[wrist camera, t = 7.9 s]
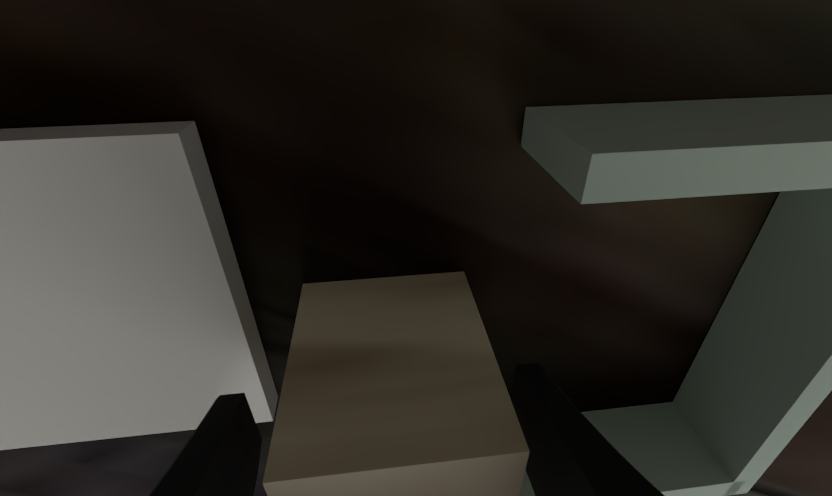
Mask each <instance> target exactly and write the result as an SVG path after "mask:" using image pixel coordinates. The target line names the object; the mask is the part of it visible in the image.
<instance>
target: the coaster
mask: <svg viewBox="0 0 832 496" xmlns="http://www.w3.org/2000/svg"><path fill="white" fill-rule="evenodd" d="M236 393H245V396H246V398H247V401H248V404H249V406H250V409H251V412H252V415H253V417H254V420H255V423H260V422H269V421H273V419H274V414H275V409H276V405H277V400H278V395H277V391H276V388H275V385H274V382H273V378H272V375H271V372H270V368H269V365H268V362H267V358H266V355H265V352H264V349H263V345H262V342H261V339H260V335H259V332H258V329H257V325H256V322H255V319H254V316H253V312H252V309H251V306H250V302H249V299H248V296H247V292H246V289H245V286H244V282H243V279H242V276H241V273H240V269H239V266H238V263H237V259H236V256H235V253H234V249H233V246H232V243H231V240H230V236H229V233H228V230H227V226H226V223H225V220H224V216H223V213H222V210H221V207H220V203H219V200H218V197H217V193H216V190H215V187H214V183H213V180H212V177H211V173H210V170H209V167H208V164H207V160H206V157H205V154H204V150H203V147H202V144H201V140H200V137H199V134H198V131H197V127H196V124H195V121H179V122H155V123H131V124H107V125H83V126H58V127H34V128H10V129H0V450H6V449H16V448H25V447H34V446H44V445H53V444H63V443H72V442H81V441H91V440H100V439H109V438H119V437H128V436H138V435H147V434H156V433H166V432H175V431H185V430H194V429H197V427H198V426H199V424H200V423H201V421H202V420H203V418H204V417H205V415H206V414H207V412H208V411H209V409H210V408H211V406H212V405H213V403H214V402H215V400H216V399H217V398H218V397H219V396H220V395H226V394H236Z"/></svg>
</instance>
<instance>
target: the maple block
mask: <svg viewBox="0 0 832 496" xmlns="http://www.w3.org/2000/svg"><path fill="white" fill-rule="evenodd" d="M529 452H530V451H529V448H528V445H527V443H526V440H525V437H524V434H523V432H522V429H521V426H520V423H519V421H518V418H517V415H516V413H515V410H514V407H513V404H512V402H511V399H510V396H509V393H508V391H507V388H506V385H505V382H504V380H503V377H502V374H501V372H500V369H499V366H498V363H497V361H496V358H495V355H494V352H493V350H492V347H491V344H490V341H489V339H488V336H487V333H486V330H485V328H484V325H483V322H482V320H481V317H480V314H479V311H478V309H477V306H476V303H475V300H474V298H473V295H472V292H471V289H470V287H469V284H468V281H467V279H466V276H465V273H464V271H462V272H450V273H437V274H424V275H411V276H398V277H385V278H372V279H359V280H346V281H333V282H320V283H308V284H303V286H302V291H301V296H300V301H299V306H298V311H297V316H296V321H295V326H294V331H293V335H292V340H291V345H290V350H289V355H288V360H287V365H286V370H285V375H284V380H283V385H282V390H281V395H280V400H279V405H278V410H277V415H276V420H275V425H274V429H273V434H272V439H271V444H270V449H269V454H268V459H267V464H266V469H265V474H264V479H263V485H264V488H265V490H266V493H267V495H268V496H519V494H520V490H521V486H522V481H523V477H524V473H525V469H526V465H527V461H528V457H529Z"/></svg>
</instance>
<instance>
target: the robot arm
mask: <svg viewBox="0 0 832 496" xmlns="http://www.w3.org/2000/svg"><path fill="white" fill-rule="evenodd" d="M511 402H512V404H513V407H514V410H515V413H516V415H517V418H518V421H519V423H520V426H521V429H522V432H523V434H524V437H525V440H526V443H527V445H528V448H529V451H530V452H529V457H528V461H527V465H526V469H525V470H526V473H527V475H528V478H529V480H530V483H531V486H532V488H533V491H534V493H535V496H665V495H663V494H662V493H661V492H660V491H659V490H658V489H657V488H656V487H655V486H653V485H652V484H651V483H650V482H649V481H648V480H647V479H646V478H645V477H644V476H643V475H642V474H641V473H640V472H639V471H637V470H636V469H635V468H634V467H633V466H632V465H631V464H630V463H629V462H628V461H627V460H626V459H625V458H624V457H623V456H622V455H621V454H620V453H619V452H618V451H617V450H616V449H615V448H614V447H613V446H612V445H611V444H610V443H609V442H608V441H607V440H606V439H605V437H604V436H603V435H602V434H601V433H600V432H599V431H598V430H597V429H596V428H595V427H594V426H593V425H592V424H591V422H590V421H589V420H588V419H587V418H586V417H585V416H584V415H583V414H582V413H581V412H580V410H579V409H578V408H577V407H576V406H575V405H574V404H573V402H572V401H571V400H570V399H569V398H568V397H567V396H566V394H565V393H564V392H563V391H562V390H561V389H560V387H559V386H558V385H557V384H556V383H555V382H554V380H553V379H552V378H551V377H550V376H549V374H548V373H547V372H546V371H545V370H544V368H543V367H542V366H541V365H540V364H539V363H534V364H524V365H516V371H515V376H514V382H513V388H512V393H511ZM261 442H262V439H261V436H260V433H259V431H258V428H257V425H256V423H255V420H254V417H253V415H252V412H251V409H250V406H249V404H248V401H247V398H246V396H245V393H236V394H226V395H220V396H219V397H218V398H217V399H216V400H215V402H214V403H213V405H212V406H211V408H210V409H209V411H208V412H207V414H206V415H205V417H204V418H203V420H202V421H201V423H200V424H199V426H198V427H197V429H196V430H195V431H194V433H193V434H192V436H191V437H190V439H189V440H188V442H187V443H186V445H185V446H184V447H183V449H182V450H181V452H180V453H179V455H178V456H177V457H176V459H175V460H174V462H173V463H172V464H171V466H170V467H169V468H168V470H167V471H166V473H165V474H164V475H163V477H162V478H161V480H160V481H159V482H158V484H157V485H156V486H155V488H154V489H153V490H152V492H151V493H150V494H149V496H253V493H254V489H255V485H256V480H257V473H258V466H259V458H260V450H261Z"/></svg>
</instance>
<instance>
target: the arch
mask: <svg viewBox="0 0 832 496" xmlns="http://www.w3.org/2000/svg"><path fill="white" fill-rule="evenodd" d="M521 147H522V148H523V149H524V150H525V151H526V152H527V153H528V154H529V155H530V156H532V157H533V158H534V159H535V160H536V161H537V162H538V163H539V164H540V165H541V166H542V167H543V168H544V169H545V170H546V171H547V172H548V173H549V174H550V175H551V176H552V177H553V178H554V179H555V180H556V181H557V182H558V183H559V184H560V185H561V186H563V187H564V188H565V189H566V190H567V191H568V192H569V193H570V194H571V195H572V196H573V197H574V198H575V199H576V200H577V201H578V202H579V203H580V204H593V203H609V202H624V201H640V200H656V199H671V198H687V197H702V196H718V195H733V194H749V193H764V192H780V191H781V192H780V194H779V196H778V197H777V199H776V201H775V203H774V205H773V207H772V209H771V211H770V213H769V215H768V217H767V219H766V221H765V223H764V225H763V227H762V229H761V231H760V233H759V234H758V236H757V238H756V240H755V242H754V244H753V246H752V248H751V250H750V252H749V254H748V256H747V258H746V260H745V262H744V264H743V266H742V268H741V270H740V271H739V273H738V275H737V277H736V279H735V281H734V283H733V285H732V287H731V289H730V291H729V293H728V295H727V297H726V299H725V301H724V303H723V305H722V306H721V308H720V310H719V312H718V314H717V316H716V318H715V320H714V322H713V324H712V326H711V328H710V330H709V332H708V334H707V336H706V338H705V340H704V342H703V343H702V345H701V347H700V349H699V351H698V353H697V355H696V357H695V359H694V361H693V363H692V365H691V367H690V369H689V371H688V373H687V375H686V377H685V379H684V380H683V382H682V384H681V386H680V388H679V390H678V392H677V394H676V396H675V398H674V400H673V402H667V403H658V404H649V405H640V406H631V407H622V408H613V409H604V410H595V411H586V412H581V413H582V414H583V415H584V416H585V417H586V418H587V419H588V420H589V421H590V422H591V424H592V425H593V426H594V427H595V428H596V429H597V430H598V431H599V432H600V433H601V434H602V435H603V436H604V437H605V439H606V440H607V441H608V442H609V443H610V444H611V445H612V446H613V447H614V448H615V449H616V450H617V451H618V452H619V453H620V454H621V455H622V456H623V457H624V458H625V459H626V460H627V461H628V462H629V463H630V464H631V465H632V466H633V467H634V468H635V469H636V470H637V471H639V472H640V473H641V474H642V475H643V476H644V477H645V478H646V479H647V480H648V481H649V482H650V483H651V484H652V485H653V486H655V487H656V488H657V489H658V490H659V491H660V492H661V493H662V494H663V495H665V496H728V495H735V494H742V493H747V492H748V491H749V490H750V489H751V487H752V486H753V485H754V484H755V482H756V481H757V480H758V479H759V478H760V476H761V475H762V474H763V473H764V472H765V470H766V469H767V468H768V467H769V465H770V464H771V463H772V462H773V461H774V459H775V458H776V457H777V456H778V455H779V453H780V452H781V451H782V450H783V448H784V447H785V446H786V445H787V444H788V442H789V441H790V440H791V439H792V438H793V436H794V435H795V434H796V433H797V431H798V430H799V429H800V428H801V427H802V425H803V424H804V423H805V422H806V421H807V419H808V418H809V417H810V416H811V415H812V413H813V412H814V411H815V410H816V408H817V407H818V406H819V405H820V404H821V402H822V401H823V400H824V399H825V398H826V396H827V395H828V394H829V393H830V391H831V390H832V94H831V95H807V96H782V97H758V98H734V99H710V100H686V101H662V102H638V103H614V104H589V105H565V106H541V107H526V109H525V117H524V124H523V132H522V140H521ZM519 496H535V493H534V491H533V488H532V486H531V483H530V480H529V478H528V475H527V473H526V470H525V473H524V477H523V481H522V486H521V490H520V494H519Z"/></svg>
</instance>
